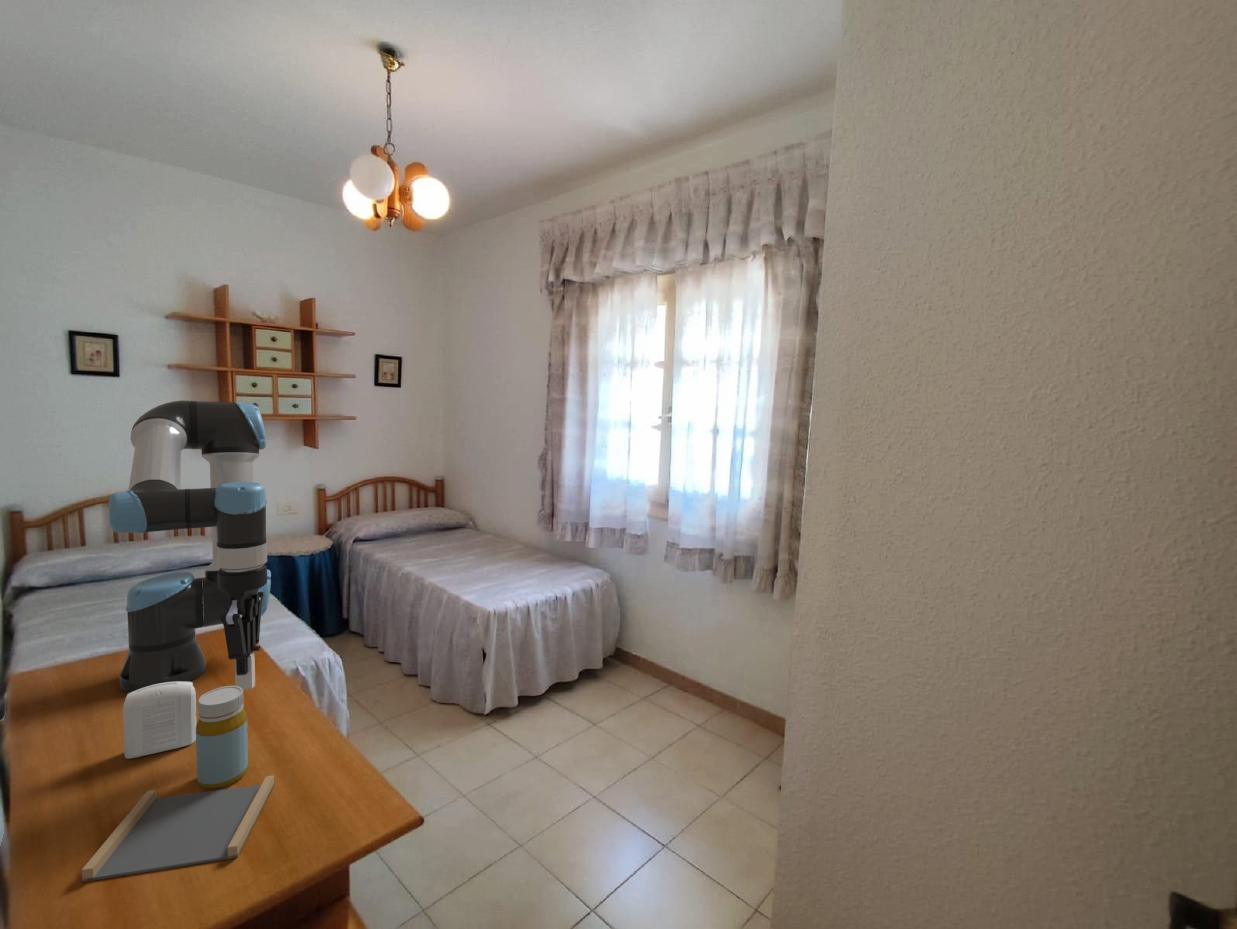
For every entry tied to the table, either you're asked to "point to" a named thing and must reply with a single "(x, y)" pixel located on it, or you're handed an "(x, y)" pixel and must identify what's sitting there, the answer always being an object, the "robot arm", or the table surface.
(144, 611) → the robot arm
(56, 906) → the table surface
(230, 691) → the bottle
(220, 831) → the grey tray
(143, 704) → the photo printer
